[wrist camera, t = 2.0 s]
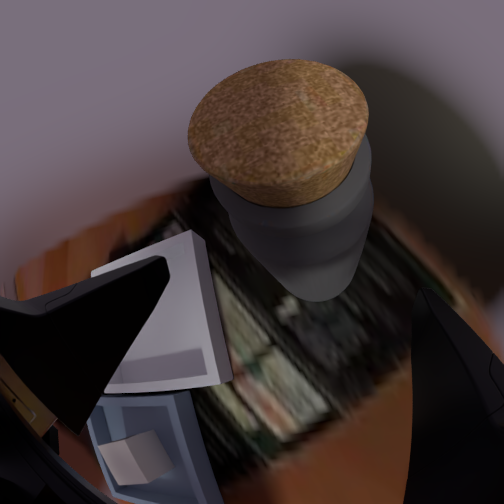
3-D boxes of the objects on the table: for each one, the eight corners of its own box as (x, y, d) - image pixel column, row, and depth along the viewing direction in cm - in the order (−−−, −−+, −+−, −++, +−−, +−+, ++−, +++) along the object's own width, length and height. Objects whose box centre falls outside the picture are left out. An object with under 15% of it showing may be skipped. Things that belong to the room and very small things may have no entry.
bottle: (276, 230, 21) (185, 73, 8) (350, 222, 20) (356, 42, 6) (278, 304, 20) (149, 226, 6) (359, 299, 18) (426, 195, 4)
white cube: (175, 466, 17) (148, 483, 13) (145, 472, 17) (118, 485, 14) (153, 428, 19) (124, 439, 15) (126, 436, 19) (97, 445, 15)
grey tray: (233, 379, 19) (220, 384, 16) (122, 390, 21) (104, 393, 19) (204, 240, 23) (190, 229, 21) (108, 277, 25) (91, 271, 23)
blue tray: (224, 503, 15) (213, 517, 13) (127, 489, 17) (113, 496, 15) (189, 390, 19) (173, 395, 17) (98, 394, 22) (80, 396, 19)
